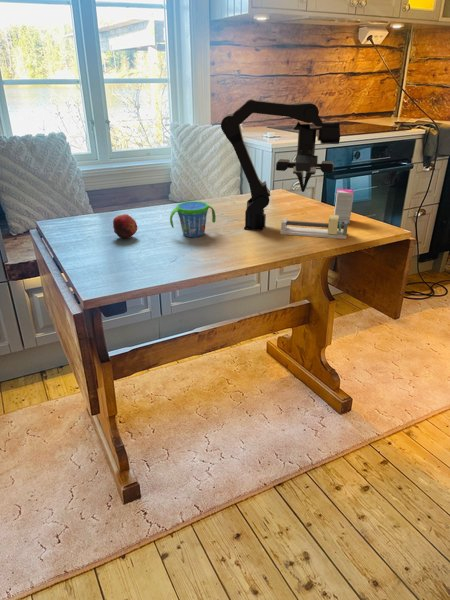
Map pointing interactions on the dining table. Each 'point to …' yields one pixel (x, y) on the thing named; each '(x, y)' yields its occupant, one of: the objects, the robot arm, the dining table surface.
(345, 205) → the supplement box
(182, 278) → the dining table surface
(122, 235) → the fruit
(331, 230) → the sleeve
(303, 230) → the linear slide rail
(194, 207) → the snack cup
